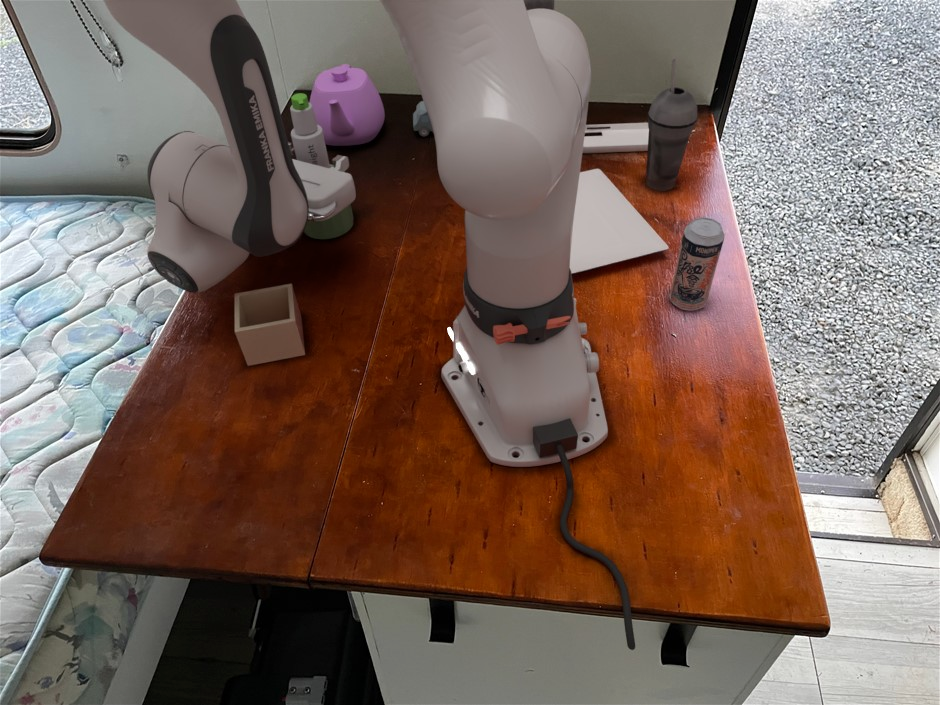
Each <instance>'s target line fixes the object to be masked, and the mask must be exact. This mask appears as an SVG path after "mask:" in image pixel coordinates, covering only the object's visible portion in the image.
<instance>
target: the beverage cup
mask: <svg viewBox="0 0 940 705" xmlns="http://www.w3.org/2000/svg"><path fill="white" fill-rule="evenodd" d="M676 63H677V60H676V58H672V59H671V71H670V73H671V74H670V87H668V88H666V89H664V90H662V91H661V92H660V93H658V94H657V95H656V96H655V98H654V99H653V100H652V103H651V105H650V107H649V110H648V112H647V123H648V128H649V136H648V151H646V154H647V155H646V169H645V174H646V175H645V178H646V179H645V184H646V186H647V187H648V188H650V189H651V190H654V191H658V192H666V191H670V190H672V189H673V188H674V187H675V184H676V181H677V179H678V176H679V173H680V169H681V166H682V164H683V160H684V156H685V154H686V150H687V147H688V143H689V139H690V136H691V134H692V132H693V130H694V128H695V125H696V123H697V122H698V119H699V118H698V104H697V101H696V99H695V97H694V96H693V95H692V93H690V92H689V91H688V90H687V89H685V88H682V87H675V86H676V66H677V64H676Z"/></svg>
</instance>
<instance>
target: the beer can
mask: <svg viewBox="0 0 940 705" xmlns="http://www.w3.org/2000/svg"><path fill="white" fill-rule="evenodd" d="M724 240H725V232H724V229H723V227H722V224H721V223H720V222H718V221H717V220H716V219H714V218H710V217H698V218H693V219H692V220H691V221H690V222H689V224H688V225H686V226H685V228H684V230H683V233H682V239H681V243H680V247H679V251H678V256H677V260H676V264H675V270H674V274H673V278H672V283H671V287H670V291H669V299H670V300H669V301H670V302H671V303H672V305H674V306H676V308H679V309H681V310H684V311H697V310H700V309H703V308H704V307H705V306H706V304H707V302H708V298H709V295H710V291H711V288H712V284H713V281H714V277H715V274H716V270H717V267H718V263H719V259H720V256H721V252H722V248H723V244H724Z"/></svg>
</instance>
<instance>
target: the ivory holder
mask: <svg viewBox="0 0 940 705" xmlns="http://www.w3.org/2000/svg"><path fill="white" fill-rule="evenodd" d="M303 329H304V328H303V320H302V315H301V311H300V308H299V304H298V300H297V297H296V293H295V290H294V287H293V283H287V284H282V285H275V286H270V287H265V288H259V289H253V290H247V291H242V292H241V291H240V292H235V293H234V334H235V337H236V339H237V342H238V345H239V347H240V349H241V353H242V356H243V357H244V360H245V363H246V365H247V366H248V367H249V366H254V365H259V364H266V363H271V362H275V361H282V360H286V359H291V358H292V359H293V358H297V357H302V356H306V350H305V348H306V347H305V339H304V330H303Z"/></svg>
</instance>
